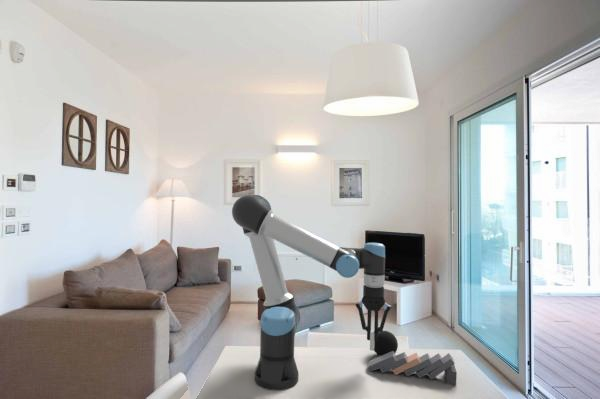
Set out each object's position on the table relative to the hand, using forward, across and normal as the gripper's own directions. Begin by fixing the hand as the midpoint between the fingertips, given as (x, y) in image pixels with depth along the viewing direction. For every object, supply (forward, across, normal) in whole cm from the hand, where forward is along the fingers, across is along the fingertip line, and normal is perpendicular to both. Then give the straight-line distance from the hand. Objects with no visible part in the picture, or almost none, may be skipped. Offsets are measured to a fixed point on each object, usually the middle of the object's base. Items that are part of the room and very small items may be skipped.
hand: (372, 348), depth 145 cm
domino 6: (+7, +20, 0) cm, 21 cm away
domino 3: (+7, +8, 0) cm, 10 cm away
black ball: (+8, +4, +13) cm, 15 cm away
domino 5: (+7, +16, 0) cm, 18 cm away
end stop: (+7, +27, 0) cm, 28 cm away
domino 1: (+7, -1, 0) cm, 7 cm away
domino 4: (+7, +12, 0) cm, 14 cm away
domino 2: (+7, +4, 0) cm, 7 cm away
